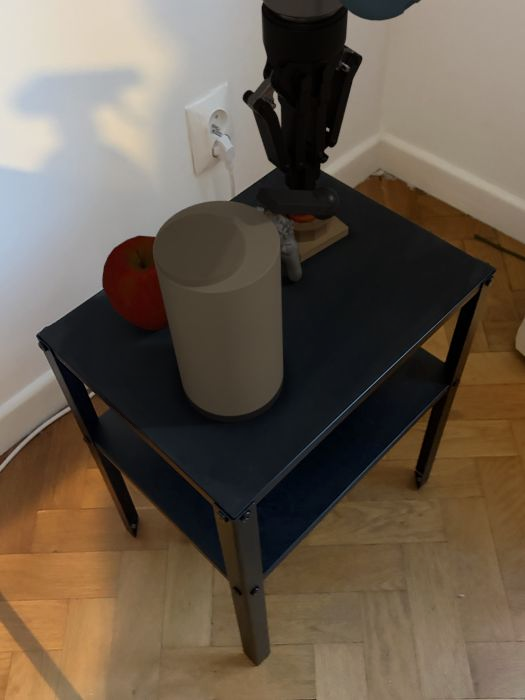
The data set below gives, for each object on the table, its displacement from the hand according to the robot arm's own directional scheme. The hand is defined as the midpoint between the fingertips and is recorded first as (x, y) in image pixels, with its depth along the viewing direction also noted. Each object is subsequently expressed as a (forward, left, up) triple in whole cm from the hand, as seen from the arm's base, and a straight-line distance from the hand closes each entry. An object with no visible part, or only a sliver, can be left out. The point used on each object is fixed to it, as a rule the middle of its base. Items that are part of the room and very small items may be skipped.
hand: (302, 205), depth 81 cm
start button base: (0, 0, -4) cm, 4 cm away
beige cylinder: (-12, +19, -4) cm, 22 cm away
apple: (-1, +21, -4) cm, 21 cm away
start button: (0, 0, -2) cm, 2 cm away
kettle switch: (-12, +11, +14) cm, 21 cm away
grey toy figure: (-3, +10, -4) cm, 11 cm away
